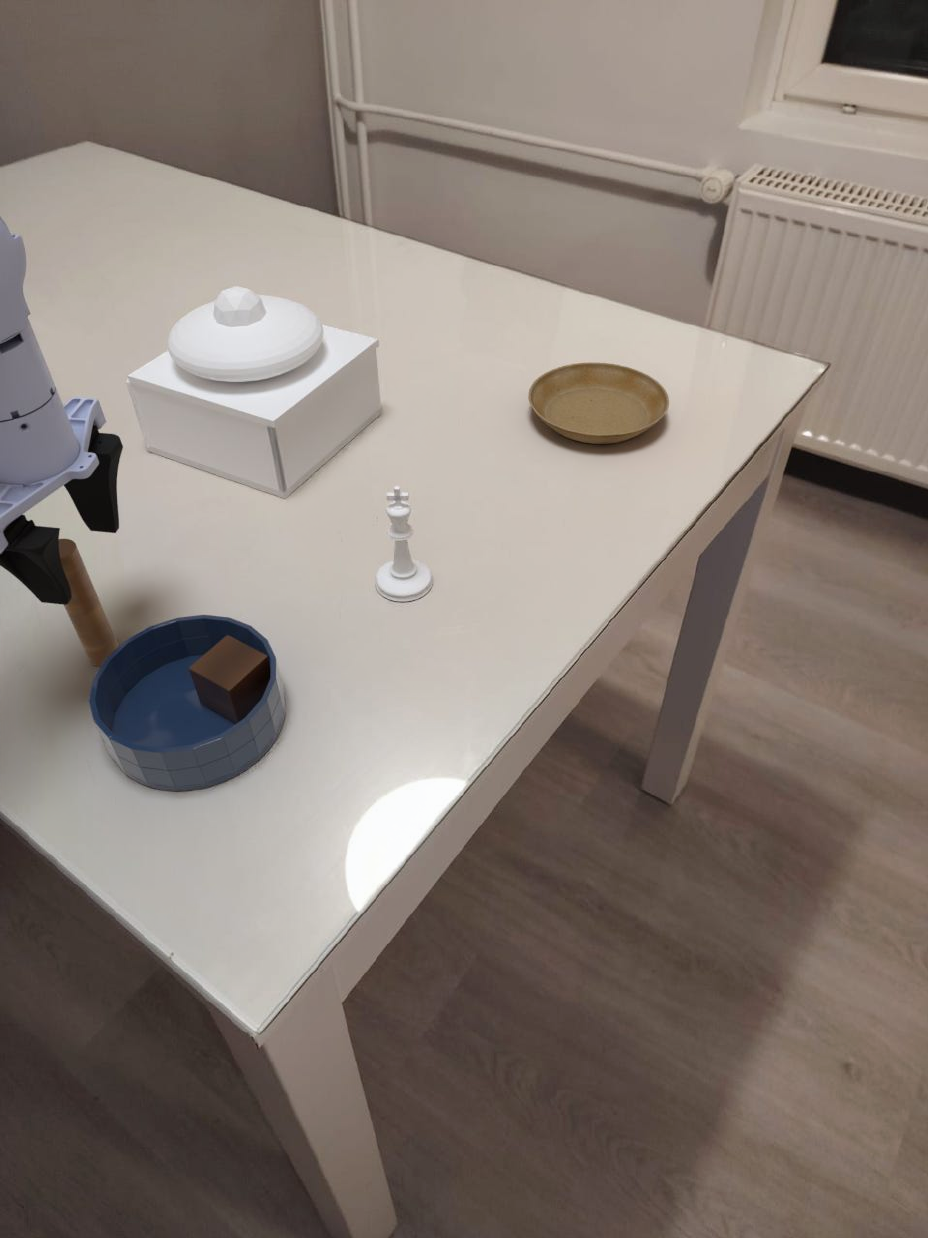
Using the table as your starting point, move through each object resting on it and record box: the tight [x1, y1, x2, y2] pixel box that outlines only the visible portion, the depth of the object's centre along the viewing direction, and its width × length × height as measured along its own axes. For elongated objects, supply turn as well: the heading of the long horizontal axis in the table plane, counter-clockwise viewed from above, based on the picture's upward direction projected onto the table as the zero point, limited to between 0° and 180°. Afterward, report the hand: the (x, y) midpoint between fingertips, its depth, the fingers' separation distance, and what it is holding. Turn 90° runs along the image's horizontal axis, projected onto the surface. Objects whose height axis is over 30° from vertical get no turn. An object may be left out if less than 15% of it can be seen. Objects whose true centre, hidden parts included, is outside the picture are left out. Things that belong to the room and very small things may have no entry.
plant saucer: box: [527, 362, 670, 445], centre depth 92 cm, size 15×15×3 cm
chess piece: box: [374, 485, 434, 603], centre depth 71 cm, size 5×5×10 cm
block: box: [189, 635, 270, 724], centre depth 63 cm, size 4×4×4 cm
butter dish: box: [125, 285, 382, 500], centre depth 86 cm, size 18×18×16 cm
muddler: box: [59, 538, 120, 667], centre depth 65 cm, size 2×2×11 cm
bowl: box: [88, 614, 286, 792], centre depth 63 cm, size 13×13×4 cm
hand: (81, 563), depth 63 cm, fingers open, 7 cm apart
